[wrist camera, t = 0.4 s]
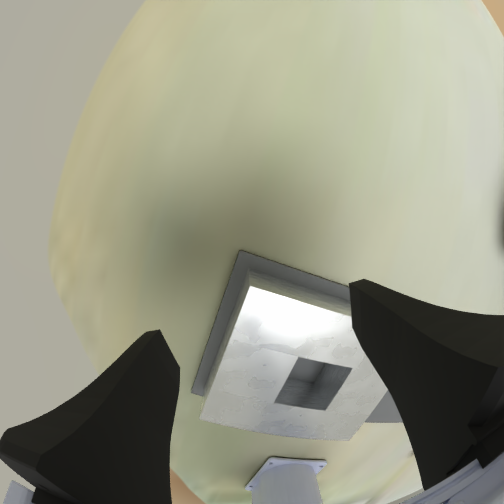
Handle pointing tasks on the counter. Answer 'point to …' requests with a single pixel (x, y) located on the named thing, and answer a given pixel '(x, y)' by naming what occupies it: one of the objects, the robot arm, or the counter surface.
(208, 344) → the rubber mat
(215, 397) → the hole block
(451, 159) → the counter surface
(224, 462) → the counter surface
